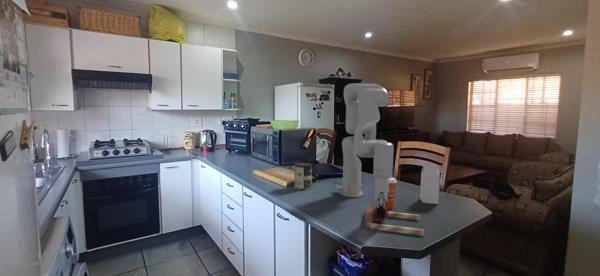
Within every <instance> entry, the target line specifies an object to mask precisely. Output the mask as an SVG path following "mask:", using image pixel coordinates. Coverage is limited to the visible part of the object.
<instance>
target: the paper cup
mask: <svg viewBox="0 0 600 276" xmlns="http://www.w3.org/2000/svg"><path fill="white" fill-rule="evenodd" d="M397 182H398V181H397V179H396V177H393V176H392V178H389V188H388V197H387V202H386V206H385V207H386V209H387V210H392V209H393V208H394V206H395V205H394V204H395V198H396V197H395V196H396V189H397Z"/></svg>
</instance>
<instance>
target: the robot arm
mask: <svg viewBox="0 0 600 276" xmlns="http://www.w3.org/2000/svg"><path fill="white" fill-rule="evenodd" d="M343 99H344V103H345V109H346V110H345V131H346V133H348V134H350V135H353V136H346V137H345V138H343V139H342V141H341V145H342V146H341V148H342V157H343V159H342V160H343V168H342V169H343V171H342V173H343V174H342V184H340V185H339V184H335V186H334V188H335V189H336V190H340V191H339V195H341V196H344V197H348V198H361V197H362V196H364V192H363V190H361V187H362V186H361V182H362V181H361V179H362V161H361V159H360V158H373V170H372V171H373V172H372V176H373V177H374V178H375V181H374V199H373V200H374V202H377V206H378V207H377V206H376V207H377V217H378V218H385V206H386V202H387V197H388V188H389V178H392V177H393V168H394V148H395V147H394V143H391V142H388V141H387V140H385V139H377V137H376V136H377V123H378V122H379V121H380V120H381V115H380V110H379V107H381V108H382V107H386V106H387V105H388V104H389V100H390V96H389V92H388V91H387V90H386V89H385V88H384V87H383V86H381V85H379V84H378V83H364V82H363V83H359V82H358V83H357V82H355V83H354V82H353V83H348V84H346V85H345V86H344V89H343ZM363 135H364V136H363Z"/></svg>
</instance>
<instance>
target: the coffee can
mask: <svg viewBox="0 0 600 276" xmlns="http://www.w3.org/2000/svg"><path fill="white" fill-rule="evenodd" d="M293 165H294V189H296V188H298V189H297V190H300V189H307V190H310V189H309V188H311V187H313V186H312V184H313V183H312V181H313V180H312V178H313V177H312V173H313V172H312V171H313V169H312V166H313V163H311V162H296V163H294V164H293ZM311 189H312V188H311Z"/></svg>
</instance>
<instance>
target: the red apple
mask: <svg viewBox="0 0 600 276" xmlns="http://www.w3.org/2000/svg"><path fill="white" fill-rule="evenodd" d="M377 207H378V205H377V206H376V207H375V208H374V209H373V210H374V215H373V217H374V218H375V219H376V220H377V221H378V222H379V223H383V222H384V221H385V220H387V219H388V218H389V217H388V211H389V209H386V207H385V218H378V217H377Z"/></svg>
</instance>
